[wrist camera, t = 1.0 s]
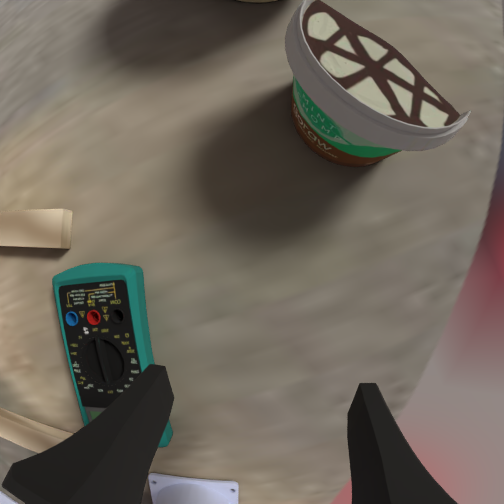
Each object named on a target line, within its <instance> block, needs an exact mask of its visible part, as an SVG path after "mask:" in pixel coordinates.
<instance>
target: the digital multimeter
mask: <svg viewBox="0 0 504 504" xmlns="http://www.w3.org/2000/svg"><path fill="white" fill-rule="evenodd" d="M52 284H53V290H54V295H55V301H56V306H57V311H58V316H59V321H60V326H61V331H62V336H63V341H64V345H65V349H66V354H67V358H68V362H69V367H70V371H71V375H72V379H73V383H74V387H75V391H76V395H77V399H78V403H79V407H80V411H81V415H82V419H83V422H84V426H86V425H87V424H88V423H90V422H91V421H92V420H93V419H95V418H96V417H97V416H98V415H99V414H100V413H101V412H103V411H104V410H105V409H106V408H107V407H108V406H109V405H110V404H111V403H113V402H114V401H115V400H116V399H117V398H118V397H119V396H120V395H121V394H122V393H123V392H124V391H125V390H126V389H127V388H128V387H129V386H130V385H131V383H132V382H133V381H134V380H135V379H136V378H137V377H138V376H139V375H140V374H141V373H142V372H143V371H144V370H145V368H146V367H147V366H148V365H149V364H155V363H154V359H153V354H152V348H151V341H150V334H149V327H148V320H147V312H146V302H145V290H144V277H143V270H142V268H140V267H139V266H133V265H126V264H118V263H91V264H84V265H80V266H77V267H74V268H71V269H68V270H66V271H64V272H62V273H59V274H57V275H55V276H54V277H53V279H52ZM127 293H128V294H127ZM128 300H129V301H128ZM129 307H130V308H129ZM131 320H132V321H131ZM132 326H133V327H132ZM133 332H134V333H133ZM97 336H98V337H97ZM92 337H93V338H92ZM134 338H135V339H134ZM135 343H136V344H135ZM136 349H137V350H136ZM137 354H138V355H137ZM138 359H139V360H138ZM139 364H140V365H139ZM140 369H141V370H140ZM85 371H86V372H85ZM88 375H89V376H88ZM91 378H92V379H91ZM112 385H113V386H112ZM172 434H173V431H172V428H171V425H170V422H169V420H168V423H167V425H166V428H165V430H164V433H163V435H162V438H161V440H160V443H159V445H158V447H166V446H167V445H168V444H169V442H170V439H171V437H172Z"/></svg>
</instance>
